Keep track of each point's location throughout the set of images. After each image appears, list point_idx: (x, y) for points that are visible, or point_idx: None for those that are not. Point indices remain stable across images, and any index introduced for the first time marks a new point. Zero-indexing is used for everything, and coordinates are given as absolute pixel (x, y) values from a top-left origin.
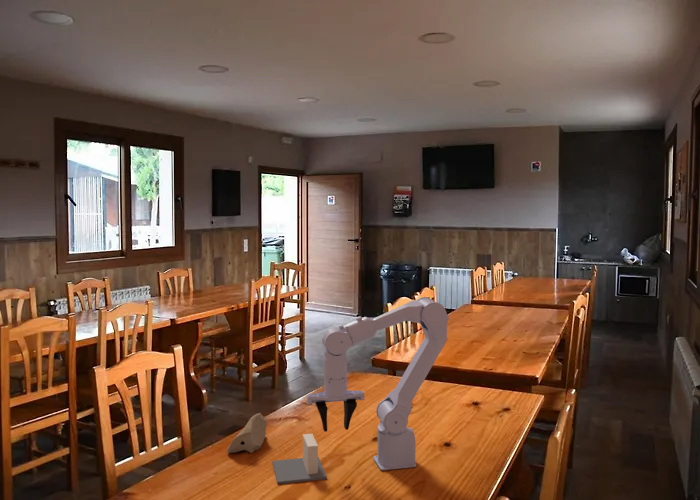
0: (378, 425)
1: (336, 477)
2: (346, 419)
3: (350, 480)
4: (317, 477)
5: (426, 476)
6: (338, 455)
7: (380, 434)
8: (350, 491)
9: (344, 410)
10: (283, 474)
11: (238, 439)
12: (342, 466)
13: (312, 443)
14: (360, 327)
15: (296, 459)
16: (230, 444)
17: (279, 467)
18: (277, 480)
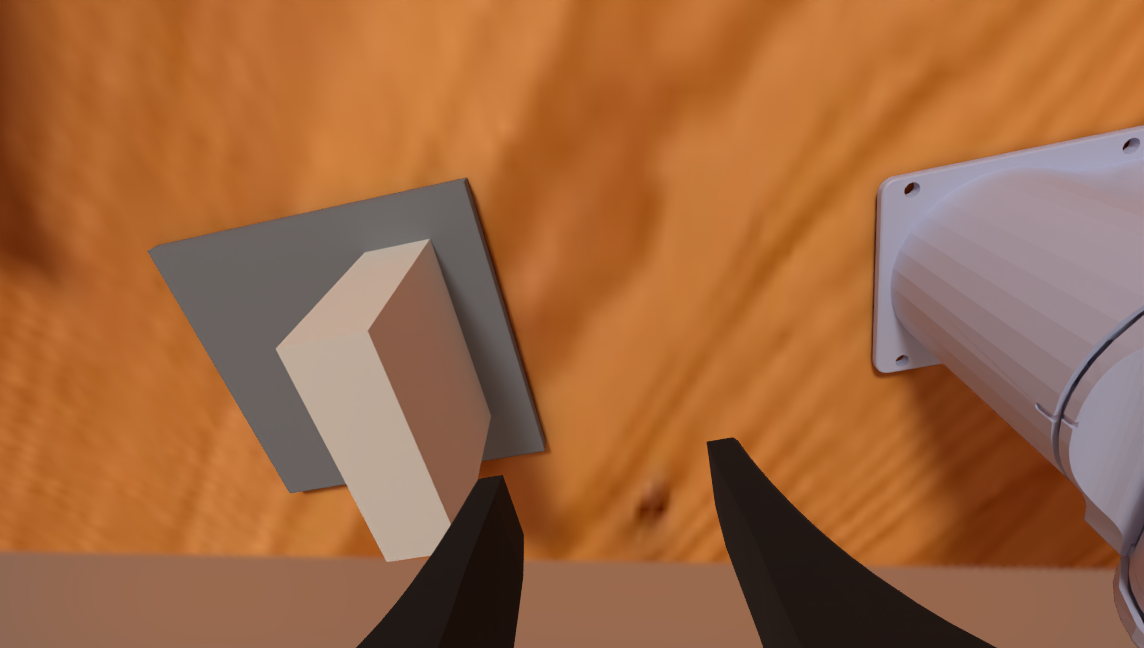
0: (1123, 360)
1: (598, 425)
2: (752, 606)
3: (673, 455)
4: (493, 456)
5: None
6: (620, 118)
7: (1043, 447)
8: (662, 542)
9: (769, 582)
10: (294, 424)
11: None
12: (640, 299)
13: (412, 519)
14: None
15: (312, 230)
16: None
17: (236, 343)
18: (284, 481)
